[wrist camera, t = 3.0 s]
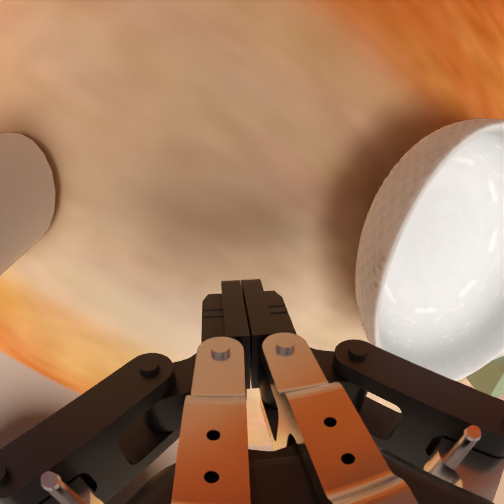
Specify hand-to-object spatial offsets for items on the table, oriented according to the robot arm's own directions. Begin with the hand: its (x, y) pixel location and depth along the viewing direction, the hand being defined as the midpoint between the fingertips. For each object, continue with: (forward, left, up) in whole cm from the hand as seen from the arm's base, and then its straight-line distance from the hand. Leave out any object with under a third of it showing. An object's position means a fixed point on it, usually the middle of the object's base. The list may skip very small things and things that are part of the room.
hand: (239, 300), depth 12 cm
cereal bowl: (0, +14, -7) cm, 16 cm away
